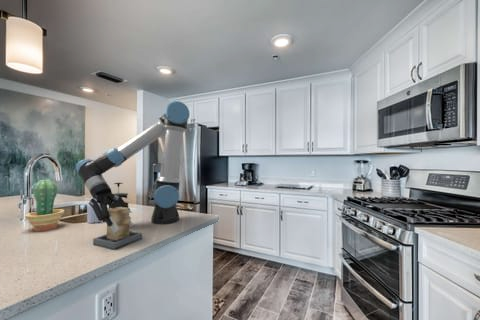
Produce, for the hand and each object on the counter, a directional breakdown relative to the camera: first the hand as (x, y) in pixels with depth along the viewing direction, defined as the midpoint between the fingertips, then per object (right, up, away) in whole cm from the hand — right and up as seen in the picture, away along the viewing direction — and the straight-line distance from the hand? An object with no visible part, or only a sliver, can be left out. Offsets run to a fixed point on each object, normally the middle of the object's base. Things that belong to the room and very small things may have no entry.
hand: (124, 228), depth 93 cm
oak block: (-3, -4, +1) cm, 5 cm away
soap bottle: (-33, -6, +34) cm, 48 cm away
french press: (-15, -6, +23) cm, 28 cm away
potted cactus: (-52, -7, +22) cm, 57 cm away
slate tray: (-3, -6, +1) cm, 7 cm away
